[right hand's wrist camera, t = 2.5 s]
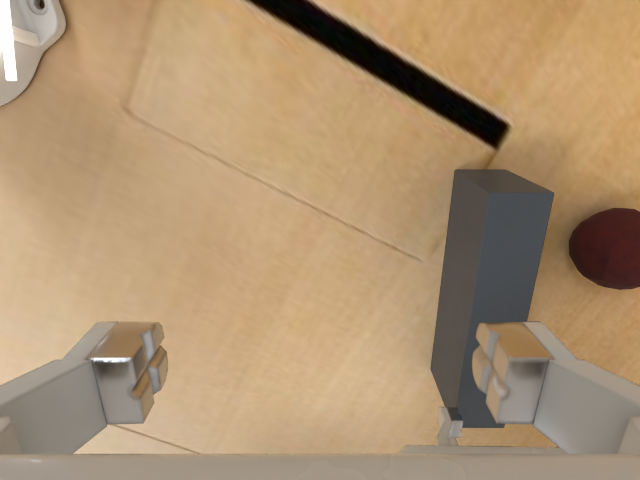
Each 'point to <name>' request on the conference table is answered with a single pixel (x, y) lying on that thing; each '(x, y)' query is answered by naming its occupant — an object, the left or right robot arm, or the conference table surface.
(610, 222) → the potato
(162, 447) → the conference table surface
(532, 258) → the bar
